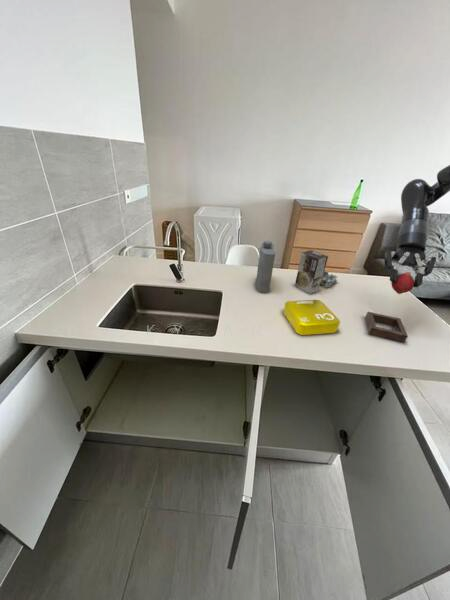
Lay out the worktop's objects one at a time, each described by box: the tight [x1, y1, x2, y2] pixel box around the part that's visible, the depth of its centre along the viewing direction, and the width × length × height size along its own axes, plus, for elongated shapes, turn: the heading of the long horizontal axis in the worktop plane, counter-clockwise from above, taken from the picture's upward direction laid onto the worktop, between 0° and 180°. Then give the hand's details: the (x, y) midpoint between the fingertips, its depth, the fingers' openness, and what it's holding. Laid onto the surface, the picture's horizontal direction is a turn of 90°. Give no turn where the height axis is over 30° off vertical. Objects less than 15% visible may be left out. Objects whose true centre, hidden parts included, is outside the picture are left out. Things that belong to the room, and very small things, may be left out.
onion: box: [391, 271, 415, 295], centre depth 78 cm, size 6×6×8 cm
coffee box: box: [294, 249, 329, 295], centre depth 105 cm, size 9×6×16 cm
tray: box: [364, 311, 408, 344], centre depth 84 cm, size 11×11×3 cm
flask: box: [255, 240, 276, 294], centre depth 105 cm, size 15×6×20 cm, turn 174°
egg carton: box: [320, 269, 339, 288], centre depth 114 cm, size 11×8×4 cm
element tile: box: [283, 299, 341, 336], centre depth 86 cm, size 15×15×5 cm
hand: (405, 284), depth 76 cm, fingers closed on onion, 5 cm apart
